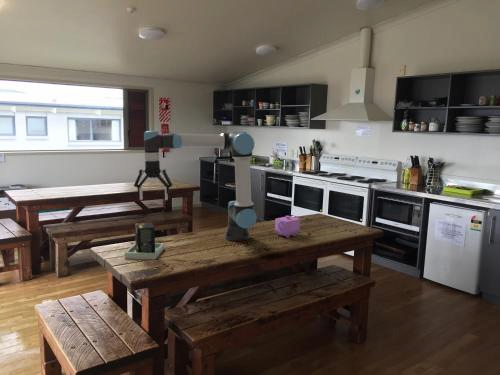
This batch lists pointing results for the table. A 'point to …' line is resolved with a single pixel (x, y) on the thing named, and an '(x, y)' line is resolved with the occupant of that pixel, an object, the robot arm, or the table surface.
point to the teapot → (287, 226)
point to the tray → (134, 255)
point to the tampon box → (145, 237)
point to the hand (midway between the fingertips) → (153, 199)
